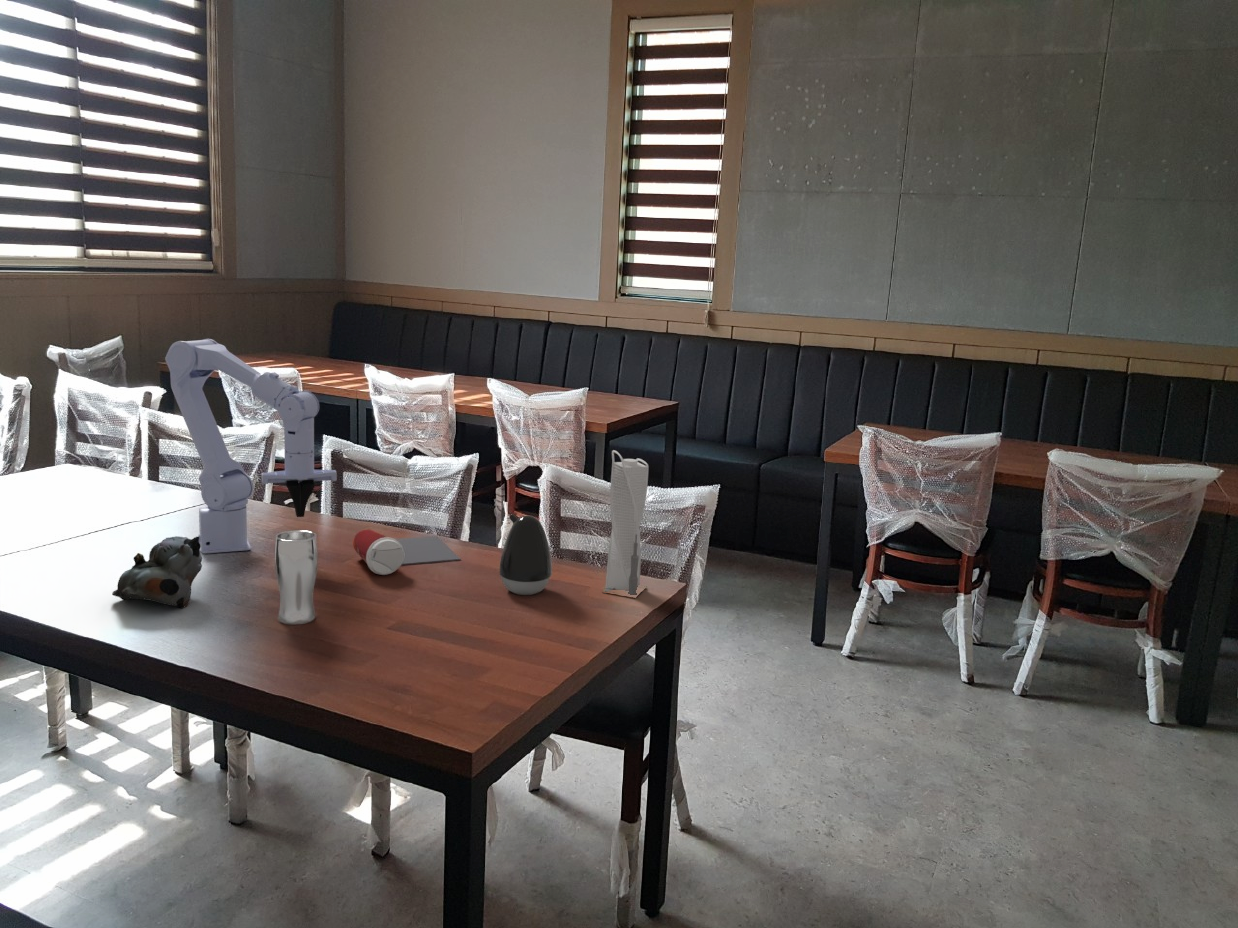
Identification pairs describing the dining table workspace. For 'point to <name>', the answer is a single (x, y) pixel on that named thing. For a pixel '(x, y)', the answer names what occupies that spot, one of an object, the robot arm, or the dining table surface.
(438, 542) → the mat
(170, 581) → the lucky cat figurine
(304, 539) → the beer glass
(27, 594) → the dining table surface
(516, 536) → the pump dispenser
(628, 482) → the skyscraper
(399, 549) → the paper cup
